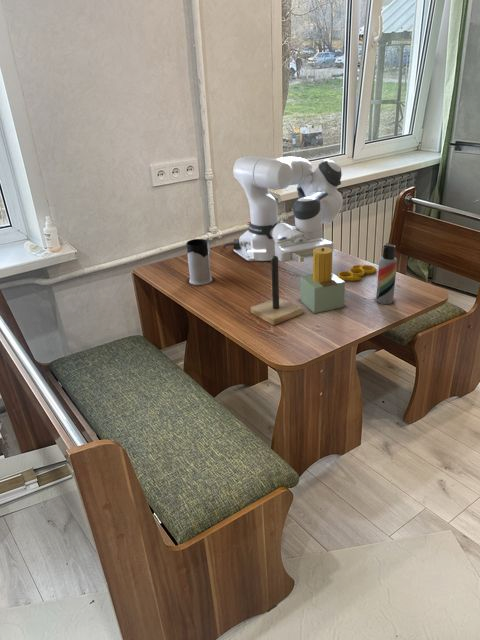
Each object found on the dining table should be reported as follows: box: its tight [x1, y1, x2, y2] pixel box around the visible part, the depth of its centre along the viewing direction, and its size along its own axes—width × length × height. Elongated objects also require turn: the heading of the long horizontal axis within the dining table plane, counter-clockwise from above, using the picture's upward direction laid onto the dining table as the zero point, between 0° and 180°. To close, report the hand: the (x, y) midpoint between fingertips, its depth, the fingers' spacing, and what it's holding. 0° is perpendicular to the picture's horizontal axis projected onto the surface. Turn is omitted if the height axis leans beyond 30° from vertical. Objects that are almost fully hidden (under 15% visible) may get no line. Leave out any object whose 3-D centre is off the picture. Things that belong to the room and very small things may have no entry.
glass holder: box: [186, 238, 213, 286], centre depth 200 cm, size 9×14×15 cm, turn 159°
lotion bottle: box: [375, 242, 398, 305], centre depth 175 cm, size 6×6×20 cm
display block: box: [299, 272, 346, 314], centre depth 178 cm, size 11×11×9 cm
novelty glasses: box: [336, 264, 377, 282], centre depth 200 cm, size 17×2×10 cm
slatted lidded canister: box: [312, 247, 337, 287], centre depth 172 cm, size 9×6×11 cm
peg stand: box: [250, 255, 303, 326], centre depth 170 cm, size 12×12×20 cm
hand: (314, 257), depth 178 cm, fingers open, 8 cm apart
